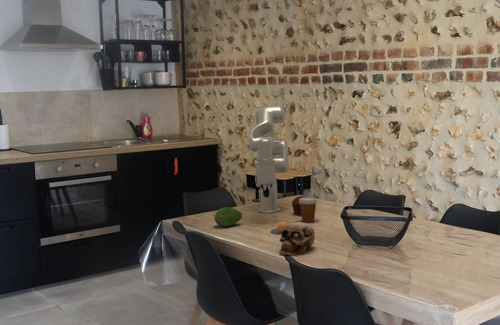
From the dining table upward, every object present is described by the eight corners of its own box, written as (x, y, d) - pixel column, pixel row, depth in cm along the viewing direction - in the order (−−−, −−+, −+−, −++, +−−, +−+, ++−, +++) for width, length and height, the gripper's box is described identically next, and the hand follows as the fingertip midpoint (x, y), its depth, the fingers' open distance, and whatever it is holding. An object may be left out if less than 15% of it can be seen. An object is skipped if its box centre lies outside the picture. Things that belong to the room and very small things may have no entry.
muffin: (288, 213, 355) (287, 196, 354) (305, 211, 359) (304, 194, 358) (298, 217, 344) (298, 199, 343) (316, 214, 349) (315, 197, 347)
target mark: (266, 230, 317) (266, 230, 317) (288, 227, 321) (288, 227, 321) (275, 235, 306) (275, 235, 306) (298, 232, 310) (298, 232, 310)
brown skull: (278, 255, 271) (279, 224, 271) (279, 249, 288) (280, 220, 288) (315, 256, 270) (315, 225, 270) (314, 249, 287) (314, 220, 287)
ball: (278, 221, 308) (280, 232, 307) (289, 220, 310) (291, 231, 309) (274, 222, 314) (276, 233, 313) (285, 221, 315) (287, 232, 314)
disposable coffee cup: (318, 222, 330) (317, 200, 328) (299, 223, 330) (299, 200, 328) (316, 218, 339) (315, 196, 338) (298, 219, 339) (298, 197, 338)
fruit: (238, 222, 338) (237, 203, 337) (246, 225, 330) (245, 207, 328) (212, 225, 332) (211, 207, 331) (219, 229, 323) (218, 210, 322)
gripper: (275, 160, 335) (276, 194, 338) (249, 162, 330) (250, 197, 333) (281, 162, 328) (282, 196, 331) (254, 164, 323) (255, 199, 326)
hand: (266, 196), depth 332 cm, fingers closed
